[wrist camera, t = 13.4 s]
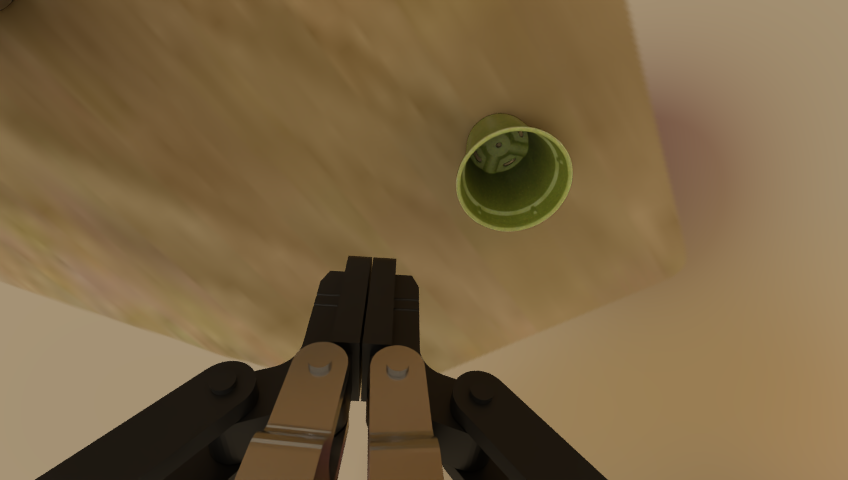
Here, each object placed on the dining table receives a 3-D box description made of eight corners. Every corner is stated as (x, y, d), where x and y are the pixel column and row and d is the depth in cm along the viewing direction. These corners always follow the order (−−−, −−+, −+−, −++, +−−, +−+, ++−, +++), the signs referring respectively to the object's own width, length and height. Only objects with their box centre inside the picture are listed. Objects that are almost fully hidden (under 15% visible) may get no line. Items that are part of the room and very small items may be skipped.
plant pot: (481, 202, 45) (494, 249, 38) (430, 133, 41) (433, 172, 34) (561, 153, 42) (591, 194, 35) (515, 73, 38) (539, 101, 31)
